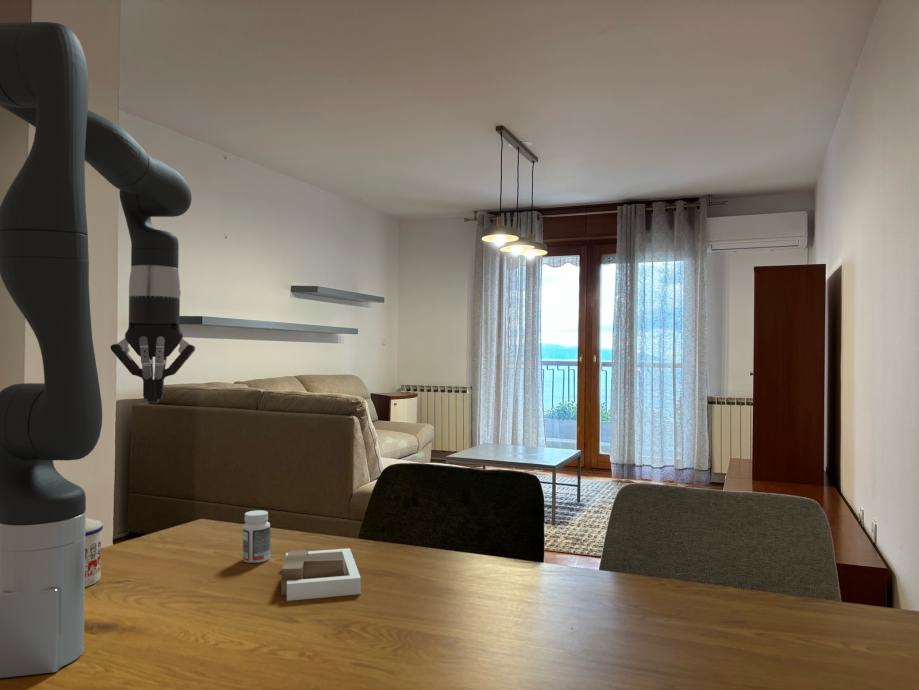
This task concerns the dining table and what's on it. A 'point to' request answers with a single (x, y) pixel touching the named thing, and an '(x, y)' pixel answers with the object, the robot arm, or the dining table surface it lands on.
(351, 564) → the pocket
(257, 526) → the pill bottle
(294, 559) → the t block
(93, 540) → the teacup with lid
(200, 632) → the dining table surface
